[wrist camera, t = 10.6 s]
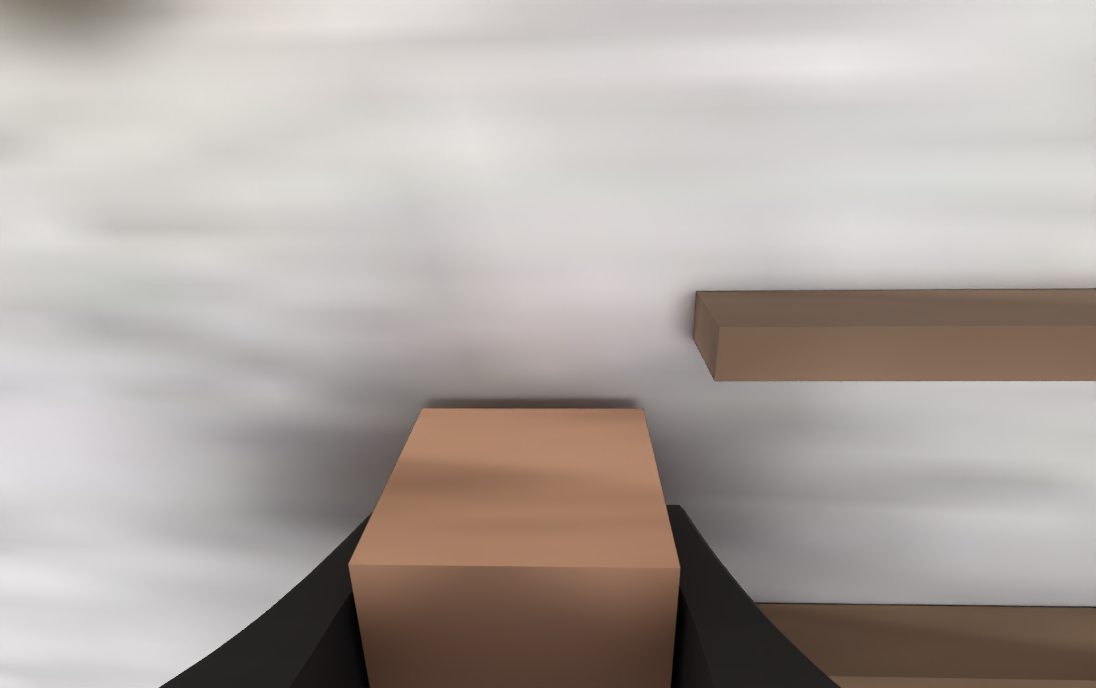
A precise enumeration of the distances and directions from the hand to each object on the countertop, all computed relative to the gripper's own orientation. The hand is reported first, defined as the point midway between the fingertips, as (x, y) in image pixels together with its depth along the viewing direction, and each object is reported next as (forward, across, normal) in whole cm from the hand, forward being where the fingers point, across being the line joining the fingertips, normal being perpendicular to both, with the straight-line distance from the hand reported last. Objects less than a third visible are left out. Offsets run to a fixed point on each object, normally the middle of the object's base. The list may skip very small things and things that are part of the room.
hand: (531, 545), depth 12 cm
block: (+1, 0, 0) cm, 1 cm away
